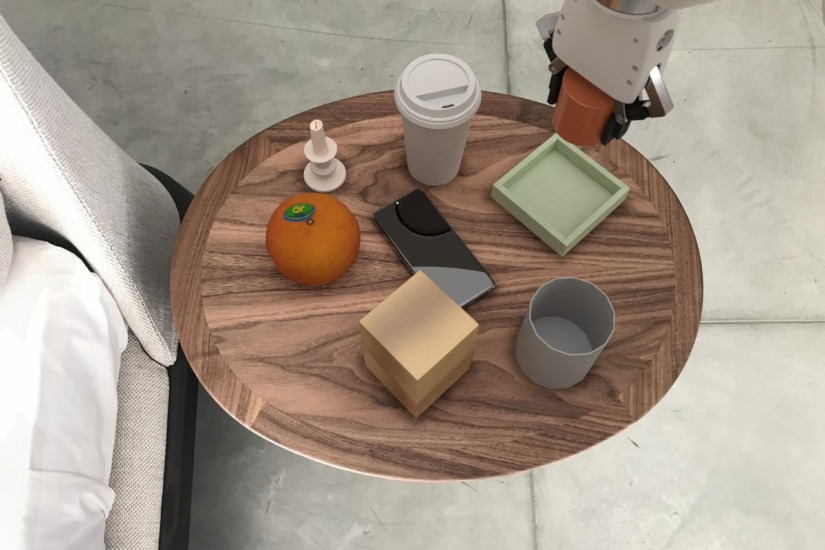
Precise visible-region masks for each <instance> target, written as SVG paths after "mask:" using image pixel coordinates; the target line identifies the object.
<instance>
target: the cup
mask: <svg viewBox="0 0 825 550" xmlns="http://www.w3.org/2000/svg"><path fill="white" fill-rule="evenodd" d="M615 331H616V312H615V309H614V307H613V304H612V303H611V300H610V299H609V296H608V295H607V294H606V293H605V292H604V291H602V290H601V289H600V288H599V287H598V286H597V285H596V284H594V283H593V282H590V281H587V280H585V279H582V278H579V277H576V276H568V277H567V276H565V277H555V278H553V279H551V280H549V281H547V282H546V283H544V284H542V285H540V286H539V287H538V289H537V290H536V292H535V293H534V294H533V296H532V298H531V299H530V300H529V304H528V306H527V309H526V312H525V315H524V317H523V320H522V324H521V326H520V329H519V332H518V334H517V337H516V342H515V352H514V353H515V354H514V356H515V358H516V361H517V364H518V365H519V368H520V371H521V372H522V373H523V374H524V375H525V376H526V377H527V378H528V379H529V380H530V381H531V382H533V384H536V385H538V386H541V387H543V388H546V389H549V390H562V389H569V388H572V387H573V386H574V385H576V384H578V383H580V382H581V381H583V380H584V379H585V377H586V376H587V374H588V373H589V372H590V370H591V368H592V367H593V365H594V363H595V362H596V361H597V359H598V357H599V356H600V355H601V353H602V351H603V350H604V348H605V347H606V345H607V344H608V343H609V340H610V339H611V337H612V335H613V334H614V332H615Z"/></svg>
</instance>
